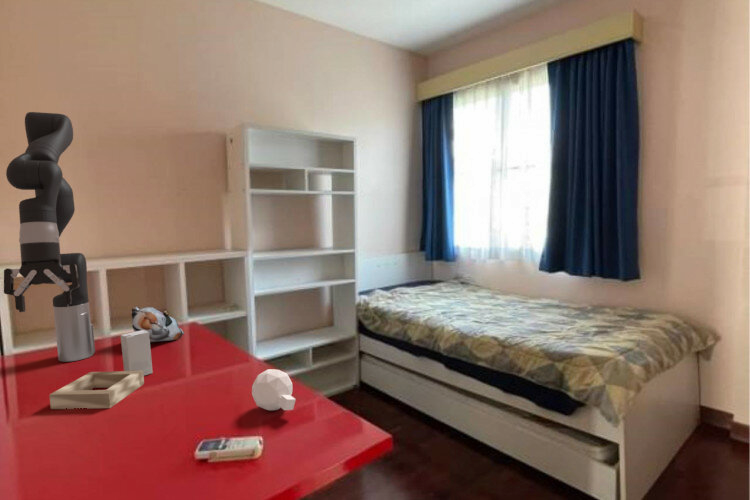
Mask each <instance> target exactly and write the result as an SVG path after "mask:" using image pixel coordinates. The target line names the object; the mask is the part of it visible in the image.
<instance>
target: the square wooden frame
mask: <svg viewBox="0 0 750 500" xmlns="http://www.w3.org/2000/svg"><path fill="white" fill-rule="evenodd" d="M144 377H145V375H144V376H143V371H124V370H121V371H120V370H119V371H115V370H114V371H90V372H88V373H86V374H85V375H83V376H81V377H79V378H77V379H76V380H73V381H71V382H69V383H68V384H66V385H65V386H63V387H61V388H59V389H57V390H55V391H53V392H51V393H50V394H49V403H50V404H49V406H50V410H76V409H77V408H79V410H80V408H82V409H83V408H87V409H112V407H114V406H115V405H117V404H118V403H120V402H121V401H122V400H124V399H125V398H126V397H128V396H129V395H131V394H132V393H133V392H135V391H136V390H138V389H139V388H141V387H142V386H143V385H144V384H145V378H144ZM97 388H99V389H97ZM100 388H101V389H100ZM102 388H103V389H102ZM104 388H107V389H104ZM93 389H95V390H93ZM96 389H97V390H96ZM66 408H67V409H66ZM74 408H76V409H74Z"/></svg>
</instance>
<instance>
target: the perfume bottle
mask: <svg viewBox="0 0 750 500" xmlns="http://www.w3.org/2000/svg"><path fill="white" fill-rule="evenodd" d="M293 385H294V384H293V382H292V380H291V378H290V376H289V374H288V373H286V372H284V371H282V370H280V369H274V368H272V369H271V368H270V369H269V368H268V369H266V370H264V371H262V372H261V373H259V374H257V376H256V378H255V380H254V382H253V384H252V386H251V395H252V396H251V397H252V398H253V400H254V403H255V404H256V406H257V407H259V408H261V409H264V410H267V411H278V410H279V409H282V410H283V411H292V410H294V407H295V404H296V401H297V400H296V398H295V397H294V396H292V394H293V388H294V387H293Z"/></svg>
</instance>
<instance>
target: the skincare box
mask: <svg viewBox="0 0 750 500" xmlns="http://www.w3.org/2000/svg"><path fill="white" fill-rule="evenodd" d="M120 344H121V352H122V354H121V355H122V362H123V363H122V364H123V371H143V376H144V377H145V376H147V375H150V374H153V373H154V371H153V363H152V362H153V361H152V351H151V342H150V340H149V332H147V331H145V330H141V331H136V332H135V331H132V332H128V333H122V334H120Z"/></svg>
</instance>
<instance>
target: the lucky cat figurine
mask: <svg viewBox="0 0 750 500" xmlns="http://www.w3.org/2000/svg"><path fill="white" fill-rule="evenodd" d="M131 312H132V313H131V317H132V318H131V320H132V321H131V324H132V326H131V328H132V329H133V332H136V331H141V330H145V331H147V332H149V340H150V343H155V342H167V341H176V340H177V341H178V340H179V339H181V338H182V336H183V335H185V332H184V331H183V329H182V328H181V327H180V326H179V323H178V322H177V320H176V319H175V318H174V317H171V316H170V313H169V312H168V311H167V310H164V311H163V312H161V311H160V310H158V309H157V308H154V307H153V306H151V307H148V306H147V307H144V308H140V306H136V307H133V308H131Z"/></svg>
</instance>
